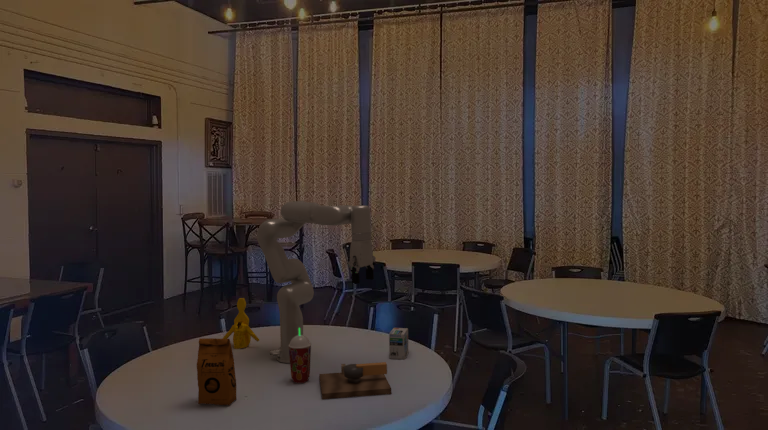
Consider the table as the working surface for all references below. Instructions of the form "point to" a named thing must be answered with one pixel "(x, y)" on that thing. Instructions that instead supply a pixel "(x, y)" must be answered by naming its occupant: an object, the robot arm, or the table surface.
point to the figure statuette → (241, 328)
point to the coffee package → (216, 372)
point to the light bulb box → (398, 343)
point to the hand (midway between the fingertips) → (363, 281)
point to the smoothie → (300, 358)
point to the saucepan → (364, 369)
